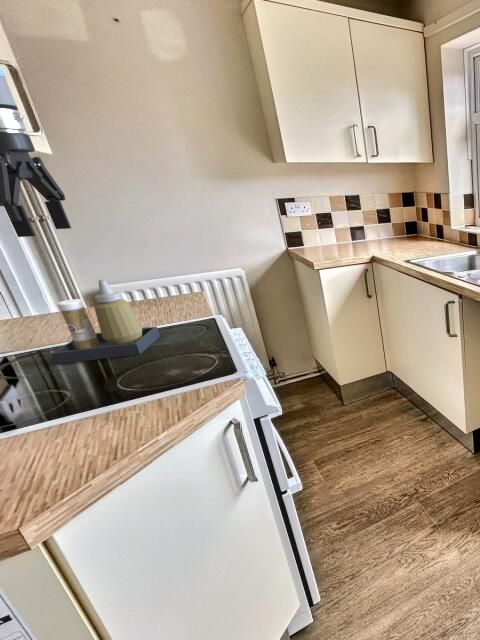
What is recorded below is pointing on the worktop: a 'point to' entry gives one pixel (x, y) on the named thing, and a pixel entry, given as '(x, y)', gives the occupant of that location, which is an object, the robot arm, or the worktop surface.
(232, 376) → the worktop surface
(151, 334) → the serving tray
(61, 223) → the robot arm
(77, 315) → the sprinkles bottle
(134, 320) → the squeeze bottle
